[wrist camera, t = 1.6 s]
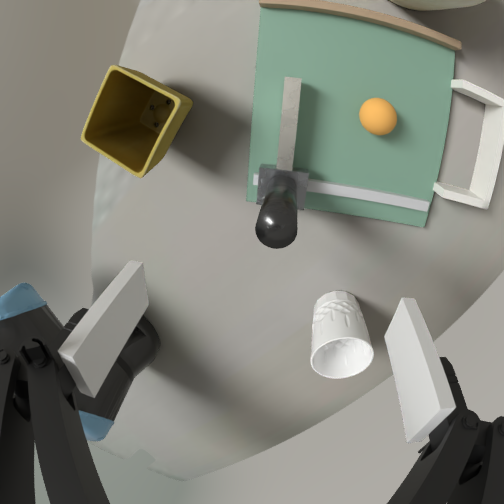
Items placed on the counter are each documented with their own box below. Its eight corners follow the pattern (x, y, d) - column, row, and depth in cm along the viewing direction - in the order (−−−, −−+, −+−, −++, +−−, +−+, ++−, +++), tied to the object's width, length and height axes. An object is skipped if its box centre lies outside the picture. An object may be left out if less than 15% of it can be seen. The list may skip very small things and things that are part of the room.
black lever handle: (258, 196, 33) (240, 249, 22) (268, 76, 27) (252, 62, 16) (303, 202, 33) (306, 258, 22) (317, 82, 26) (332, 70, 15)
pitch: (247, 197, 36) (244, 205, 33) (262, 2, 24) (259, -5, 21) (420, 223, 34) (428, 232, 31) (450, 44, 22) (461, 41, 19)
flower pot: (121, 127, 33) (78, 140, 25) (151, 67, 29) (110, 63, 21) (174, 160, 34) (141, 180, 27) (210, 99, 30) (183, 100, 23)
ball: (353, 129, 29) (361, 133, 25) (357, 94, 27) (366, 93, 23) (387, 136, 28) (399, 141, 25) (392, 102, 26) (404, 103, 23)
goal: (429, 186, 31) (442, 197, 28) (446, 79, 24) (463, 79, 21) (472, 198, 31) (487, 209, 27) (491, 99, 24) (509, 102, 20)
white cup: (299, 315, 43) (298, 366, 35) (330, 277, 40) (336, 328, 31) (340, 334, 44) (346, 384, 36) (372, 300, 41) (386, 350, 32)
